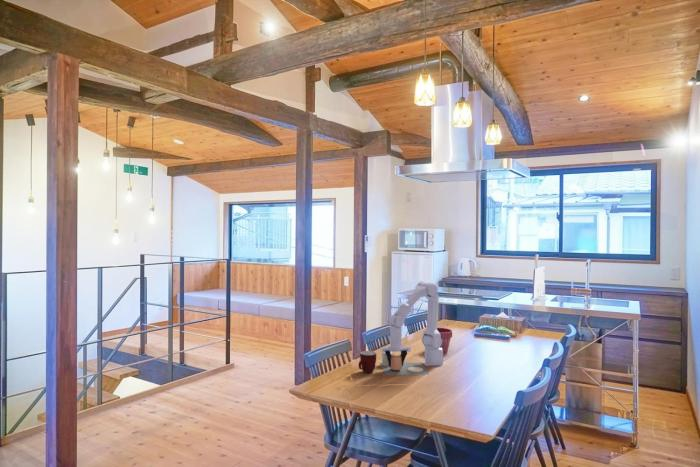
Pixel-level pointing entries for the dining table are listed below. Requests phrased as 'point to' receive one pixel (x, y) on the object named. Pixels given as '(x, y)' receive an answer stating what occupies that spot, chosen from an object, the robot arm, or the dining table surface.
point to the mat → (404, 369)
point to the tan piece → (396, 362)
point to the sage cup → (385, 359)
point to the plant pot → (445, 338)
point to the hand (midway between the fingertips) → (395, 365)
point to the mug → (367, 361)
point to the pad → (415, 369)
